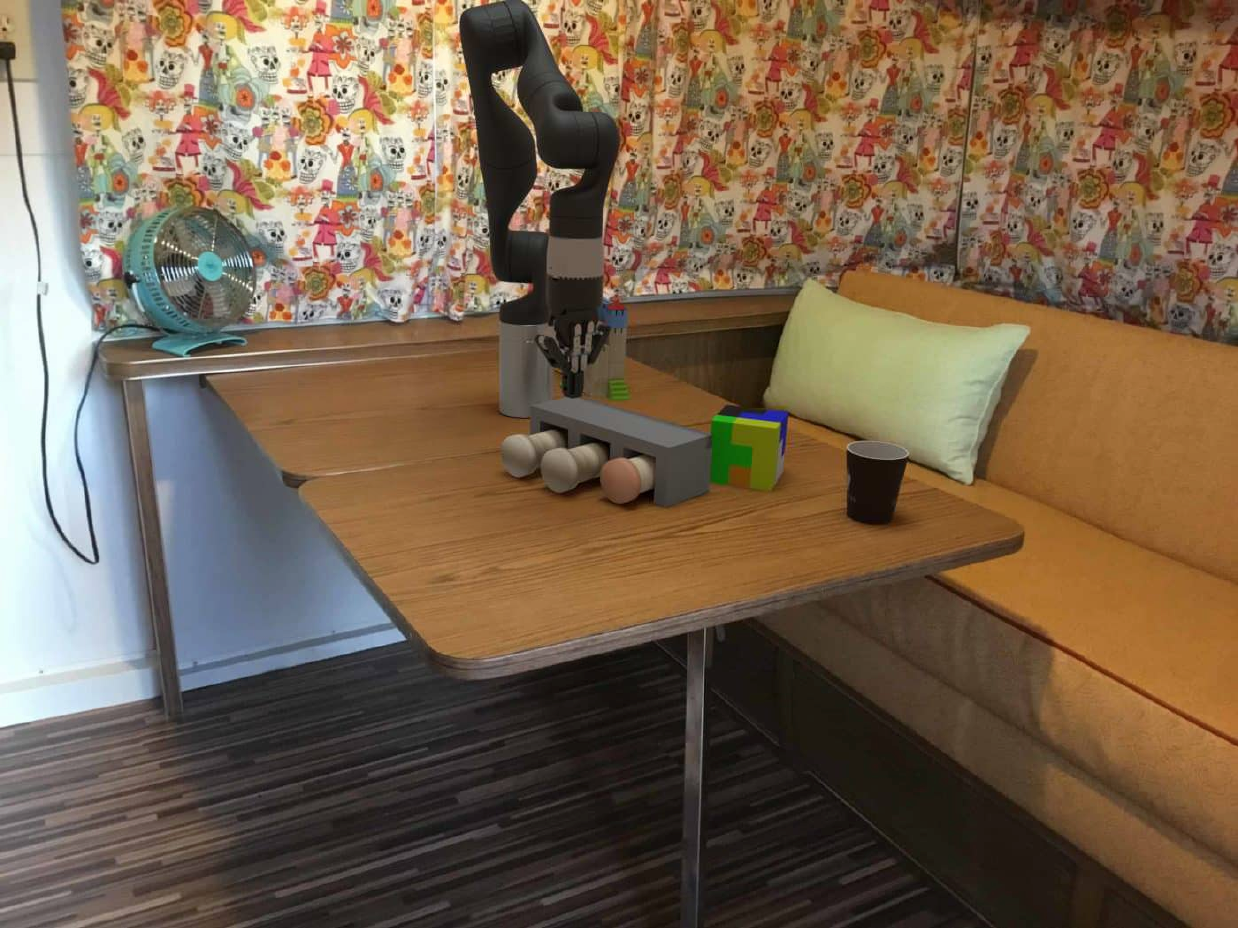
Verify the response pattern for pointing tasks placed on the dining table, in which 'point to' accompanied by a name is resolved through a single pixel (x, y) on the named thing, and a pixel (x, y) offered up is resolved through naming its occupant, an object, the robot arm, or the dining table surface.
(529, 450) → the near birch plug
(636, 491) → the terracotta plug
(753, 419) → the puzzle toy
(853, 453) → the coffee mug
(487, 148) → the robot arm
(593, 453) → the middle birch plug
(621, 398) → the toy castle
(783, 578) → the dining table surface
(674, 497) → the socket block
